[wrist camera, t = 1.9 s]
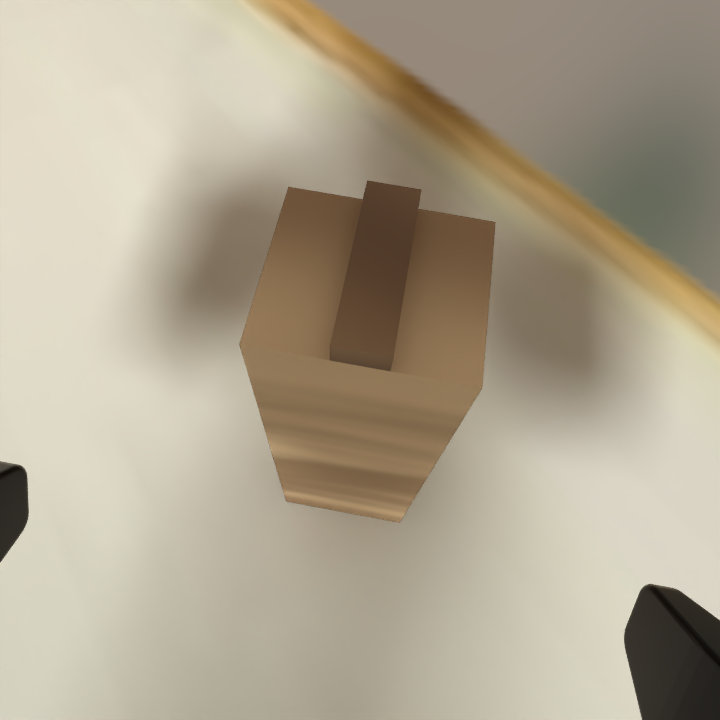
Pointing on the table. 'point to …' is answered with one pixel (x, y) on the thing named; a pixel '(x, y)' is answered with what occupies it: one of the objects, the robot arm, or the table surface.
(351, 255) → the wooden board
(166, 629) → the table surface
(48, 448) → the table surface
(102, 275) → the table surface
